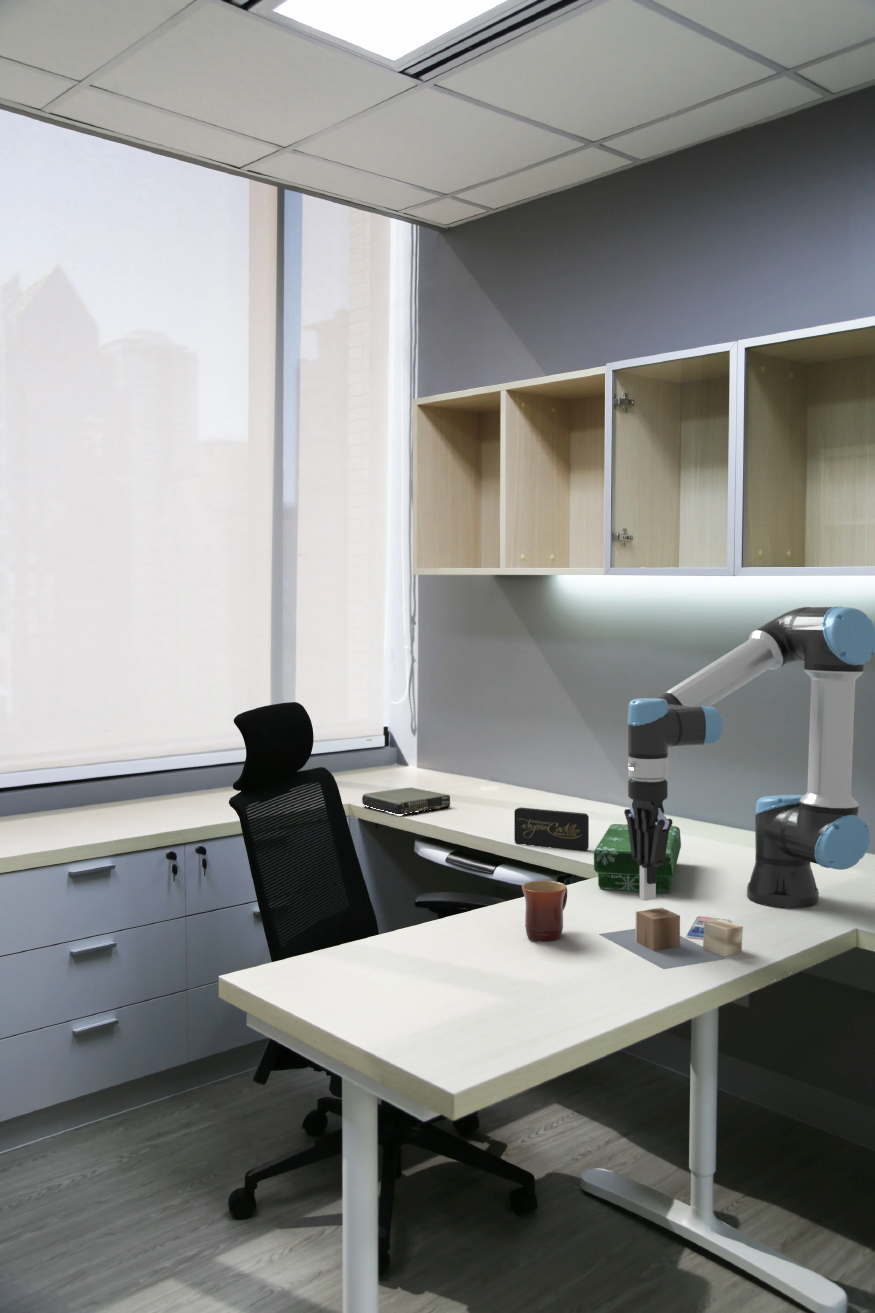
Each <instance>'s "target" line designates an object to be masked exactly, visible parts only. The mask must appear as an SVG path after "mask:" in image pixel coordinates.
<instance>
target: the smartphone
mask: <svg viewBox="0 0 875 1313" xmlns="http://www.w3.org/2000/svg"><path fill="white" fill-rule="evenodd" d="M717 920H724V921H727V922H730V923H733V922H732V920H731V919H725V918H717V917H710V916H701V915H698V916H696V917H695V919H694V920H693V922H692V923H691V925H690V927H689V929H688V930H687V932H686V934H685V935H684V938H686V939H690V940H691V939H692V940H693V939H694V940H700V941H703V939H704V923H707V922H712V921H717Z"/></svg>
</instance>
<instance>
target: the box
mask: <svg viewBox="0 0 875 1313" xmlns="http://www.w3.org/2000/svg"><path fill="white" fill-rule="evenodd" d="M681 848H682V840H681V829H680V828H679V827H678V826H676V825H672V826H671V828H670V830H669V835H668V842H667V848H666V855H665V861H664V865H660V866H657V881H656V894H657V893H659V894H660V893H661V894H662V893H668V892H670V889H671V887H672V883H673V879H674V874H675V870H676V867H677V863H678V860H679V857H680V856H679V855H680V851H681ZM593 869H594V872H596V873H597V875H598V876H597V877H598V878H597V879H598V880H597V882H598V883H597V884H598V888H599V889H601V890H607V891H608V890H611V891H625V892H627V891H628V892H640V880H639V865H638V863H637V860H636V859H632V855H631V847H630V839H629V832H628V824H622V823H620V824H619V823H613V824H611V825H609V827H608V828H607V830H606V831H605V833H604V835H603V836H602V838H601V840H600V841H599V843H598V844H597V846H596V847H595V848H594V850H593Z"/></svg>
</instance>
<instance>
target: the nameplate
mask: <svg viewBox="0 0 875 1313" xmlns="http://www.w3.org/2000/svg"><path fill="white" fill-rule="evenodd" d="M513 812H514V822H513V824H514V825H513V826H514V827H513V828H514V832H513V833H514V836H513V837H514V843H515V844H516V845H521V844H526V845H525V846H530V845H534V847H539V846H541V847H540V848H548V847H551V848H550V849H557V848H558V849H557V850H559V849H560V850H567V851H576V852H577V851H578V852H586V851H587V850H588V849H589V846H590V842H589V838H590V837H589V834H590V833H589V829H590V827H589V826H590V824H589V820H590V819H589V814H587V813H585V812H575V811H574V812H573V811H564V810H563V811H562V810H554V809H541V808H531V807H517V808H515V810H514V811H513Z"/></svg>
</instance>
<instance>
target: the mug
mask: <svg viewBox="0 0 875 1313" xmlns="http://www.w3.org/2000/svg"><path fill="white" fill-rule="evenodd" d="M521 889H522V893H523V896H524V901H525V915H524V916H525V918H524V923H525V924H524V927H525V934H526V936H527V937H528V938H529V939H530V940H532V941H535V942H554V941H557V940H559V939H561V937H562V936H563V930H564V910H565V908H566V906H567V901H568V888H567V885H566V884H565V883H562V882H558V881H553V880H552V881H551V880H534V881H533V880H532V881H528V882H525V883H523V884H522V885H521Z"/></svg>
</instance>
